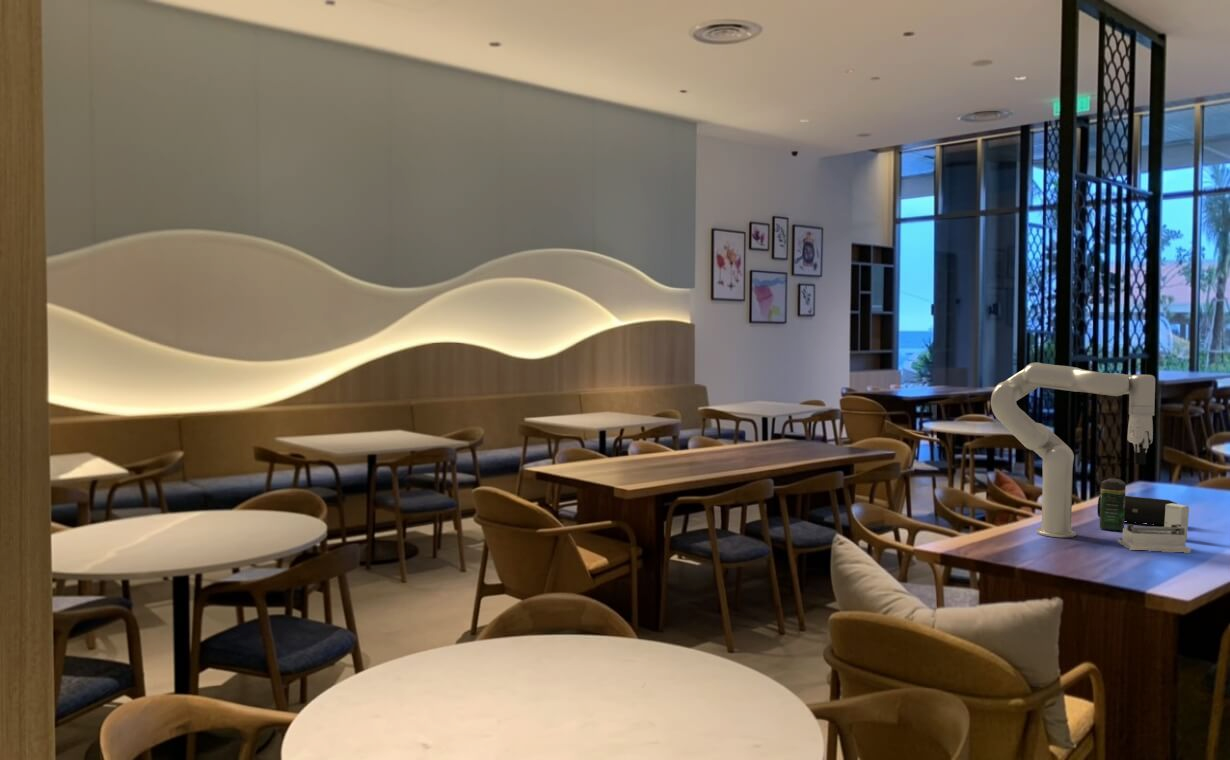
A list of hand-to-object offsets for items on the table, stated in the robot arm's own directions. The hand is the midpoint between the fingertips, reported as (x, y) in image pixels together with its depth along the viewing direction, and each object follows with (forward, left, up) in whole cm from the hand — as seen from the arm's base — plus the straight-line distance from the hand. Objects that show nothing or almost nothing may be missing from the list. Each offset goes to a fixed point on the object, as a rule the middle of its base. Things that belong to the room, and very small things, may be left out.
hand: (1140, 463), depth 310 cm
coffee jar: (-22, -1, -27) cm, 35 cm away
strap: (+8, +2, -21) cm, 23 cm away
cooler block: (+8, +2, -27) cm, 28 cm away
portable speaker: (-36, +12, -28) cm, 47 cm away
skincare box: (-8, +15, -27) cm, 32 cm away
